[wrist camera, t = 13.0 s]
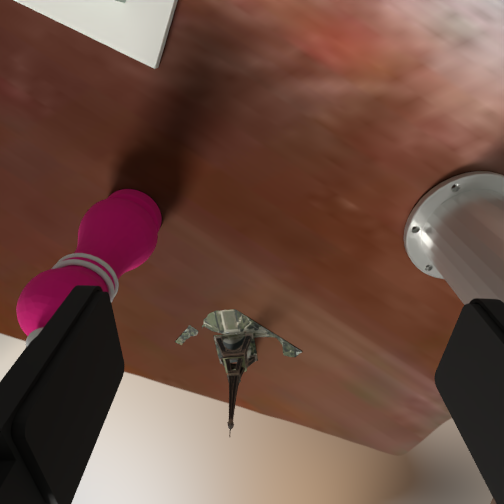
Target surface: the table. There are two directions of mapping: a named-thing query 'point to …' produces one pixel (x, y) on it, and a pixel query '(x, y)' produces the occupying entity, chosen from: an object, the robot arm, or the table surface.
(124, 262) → the pepper mill
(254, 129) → the table surface
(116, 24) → the cup holder
